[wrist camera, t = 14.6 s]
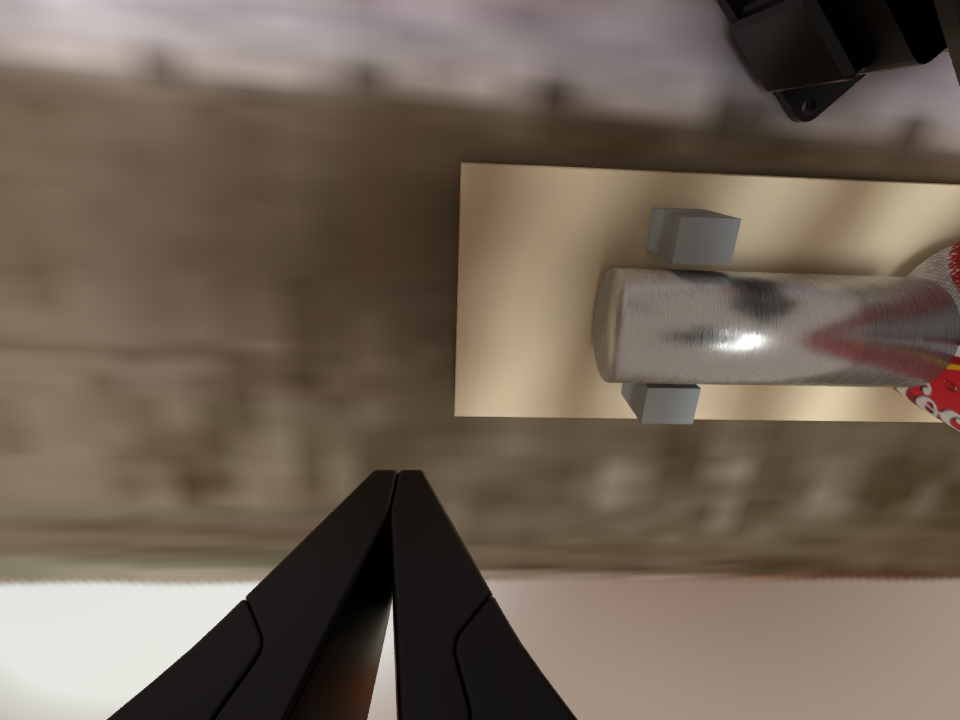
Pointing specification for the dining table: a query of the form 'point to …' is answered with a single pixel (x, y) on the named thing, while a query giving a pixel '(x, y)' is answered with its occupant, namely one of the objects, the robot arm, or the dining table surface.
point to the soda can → (956, 390)
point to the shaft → (772, 329)
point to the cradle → (662, 245)
